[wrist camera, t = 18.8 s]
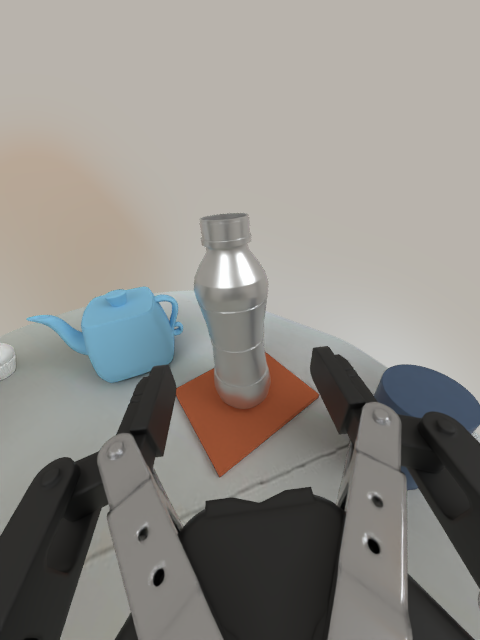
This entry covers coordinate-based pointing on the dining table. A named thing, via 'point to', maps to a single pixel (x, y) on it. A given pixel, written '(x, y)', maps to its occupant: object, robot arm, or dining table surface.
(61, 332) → the teapot
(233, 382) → the silver metal bottle
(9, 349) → the muffin
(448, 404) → the blue canister
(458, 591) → the dining table surface
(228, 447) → the terracotta mat
